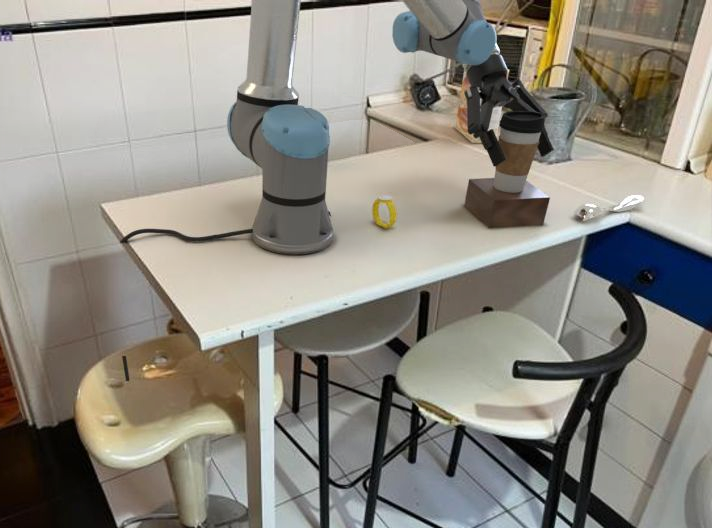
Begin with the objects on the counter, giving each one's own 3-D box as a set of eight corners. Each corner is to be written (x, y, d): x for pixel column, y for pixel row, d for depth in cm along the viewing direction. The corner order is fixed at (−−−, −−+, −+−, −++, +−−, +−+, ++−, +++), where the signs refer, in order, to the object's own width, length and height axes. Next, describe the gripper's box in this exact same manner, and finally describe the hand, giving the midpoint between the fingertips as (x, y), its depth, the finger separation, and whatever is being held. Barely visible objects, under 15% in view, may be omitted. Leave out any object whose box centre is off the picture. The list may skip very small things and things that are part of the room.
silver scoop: (633, 184, 144) (653, 191, 141) (629, 199, 146) (648, 206, 143) (571, 204, 136) (590, 212, 133) (567, 220, 138) (586, 228, 135)
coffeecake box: (453, 128, 192) (465, 57, 182) (477, 127, 193) (489, 58, 183) (471, 143, 180) (484, 69, 169) (496, 143, 180) (510, 69, 170)
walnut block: (488, 228, 131) (494, 200, 128) (464, 205, 141) (468, 178, 138) (543, 225, 133) (550, 197, 130) (515, 202, 143) (520, 176, 140)
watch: (397, 230, 129) (401, 201, 126) (386, 232, 128) (389, 204, 125) (379, 219, 133) (382, 191, 130) (368, 221, 132) (370, 193, 129)
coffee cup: (531, 197, 130) (549, 121, 122) (488, 192, 131) (503, 117, 123) (527, 182, 137) (544, 110, 129) (486, 178, 138) (500, 106, 130)
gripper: (513, 69, 141) (552, 158, 138) (425, 80, 129) (466, 176, 126) (538, 47, 134) (580, 140, 131) (447, 56, 123) (491, 157, 120)
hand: (524, 158), depth 129 cm, fingers open, 13 cm apart
